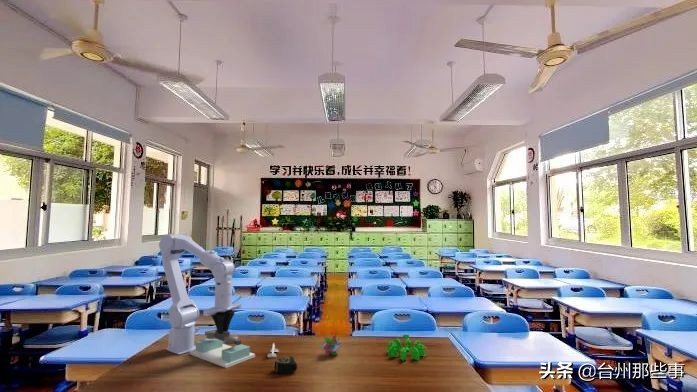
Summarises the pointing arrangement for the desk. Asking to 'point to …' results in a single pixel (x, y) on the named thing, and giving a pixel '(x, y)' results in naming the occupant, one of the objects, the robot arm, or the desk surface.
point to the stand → (221, 352)
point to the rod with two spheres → (223, 337)
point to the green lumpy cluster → (406, 349)
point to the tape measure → (285, 365)
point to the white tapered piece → (273, 351)
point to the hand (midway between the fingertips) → (222, 332)
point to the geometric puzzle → (331, 345)
